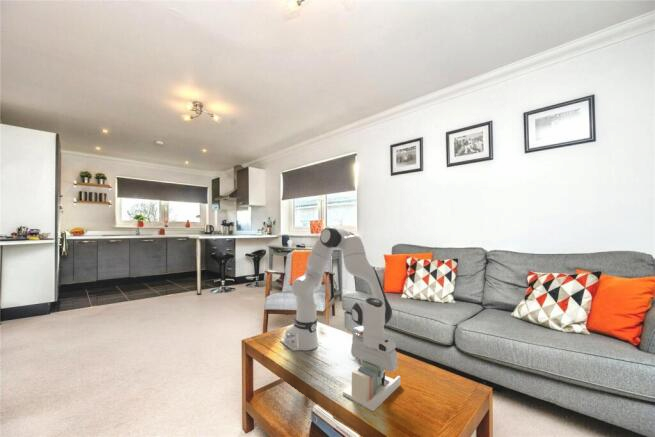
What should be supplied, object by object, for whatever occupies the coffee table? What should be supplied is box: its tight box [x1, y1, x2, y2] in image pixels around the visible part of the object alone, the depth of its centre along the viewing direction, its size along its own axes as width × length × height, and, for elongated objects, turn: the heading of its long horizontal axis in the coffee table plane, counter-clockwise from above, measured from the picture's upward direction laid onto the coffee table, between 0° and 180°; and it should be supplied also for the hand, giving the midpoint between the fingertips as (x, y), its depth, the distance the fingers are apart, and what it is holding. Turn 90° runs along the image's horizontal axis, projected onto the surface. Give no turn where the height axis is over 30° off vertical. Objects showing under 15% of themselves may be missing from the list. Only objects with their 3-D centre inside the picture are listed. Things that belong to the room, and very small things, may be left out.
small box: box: [352, 325, 364, 336], centre depth 141 cm, size 8×6×13 cm
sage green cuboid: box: [364, 361, 382, 388], centre depth 109 cm, size 6×4×8 cm, turn 49°
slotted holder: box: [342, 366, 401, 412], centre depth 109 cm, size 14×22×10 cm, turn 139°
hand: (372, 373), depth 109 cm, fingers closed on sage green cuboid, 6 cm apart
